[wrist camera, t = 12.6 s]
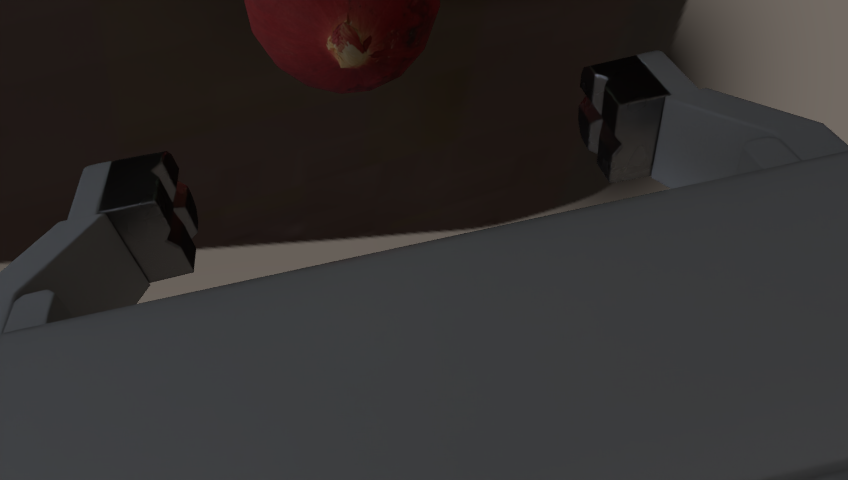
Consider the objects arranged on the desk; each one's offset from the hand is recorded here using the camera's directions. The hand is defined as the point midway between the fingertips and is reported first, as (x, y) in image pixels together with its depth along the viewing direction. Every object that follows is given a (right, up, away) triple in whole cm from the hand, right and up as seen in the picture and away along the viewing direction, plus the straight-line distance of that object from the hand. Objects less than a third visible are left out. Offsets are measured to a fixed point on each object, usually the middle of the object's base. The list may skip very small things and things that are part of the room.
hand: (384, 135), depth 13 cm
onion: (-2, +8, +9) cm, 13 cm away
